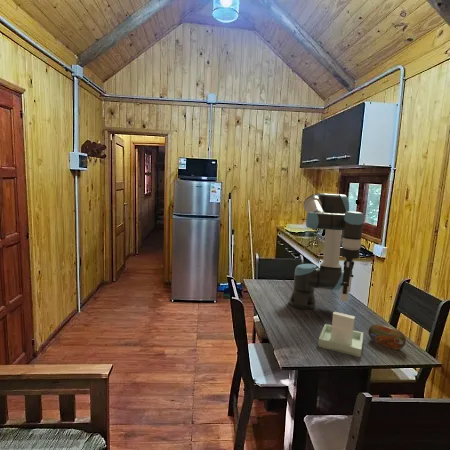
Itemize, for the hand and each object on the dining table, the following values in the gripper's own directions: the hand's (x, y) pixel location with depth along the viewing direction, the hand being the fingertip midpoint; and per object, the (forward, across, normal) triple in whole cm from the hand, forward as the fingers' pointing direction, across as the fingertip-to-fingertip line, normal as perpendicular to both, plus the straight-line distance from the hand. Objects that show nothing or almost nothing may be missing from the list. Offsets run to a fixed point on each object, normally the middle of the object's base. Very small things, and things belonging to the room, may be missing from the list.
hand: (345, 295), depth 140 cm
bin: (+22, 0, 0) cm, 22 cm away
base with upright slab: (+21, 0, 0) cm, 21 cm away
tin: (+22, -9, +18) cm, 30 cm away
